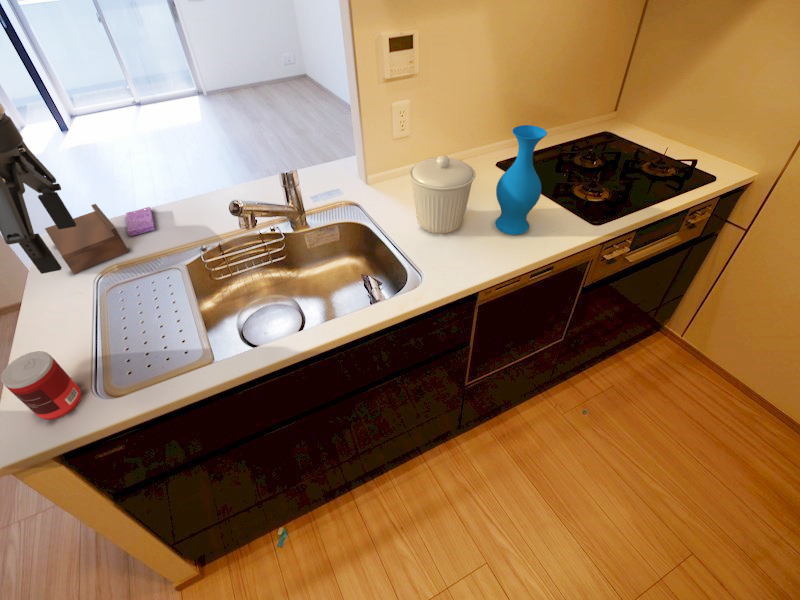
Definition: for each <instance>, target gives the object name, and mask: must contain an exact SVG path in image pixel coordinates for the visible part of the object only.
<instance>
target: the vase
mask: <svg viewBox="0 0 800 600" xmlns="http://www.w3.org/2000/svg"><path fill="white" fill-rule="evenodd" d="M511 132H512V134H513V135H514V136H515V138H516V141H517V143H518V151H517V154H516V155H517V156H516V158H515V160H514V162H513V163H512V165H511V166H510V167H509V168H508V169H507V170H505V172H504V173H503V174H502V175H501V176H500V178H499V179H498V181H497V184H496V190H495V193H496V194H495V195H496V200H497V202H498V205H499V208H500V212H501V213H500V215H499V217H497V219H495V222H494V226H495V228H496V229H497V230H498V231H500V232H501V233H502V234H506V235H510V236H519V235H523V234H526V233H527V231H529V229H530V224H529V222H528V220H527V219H528V218H527V217H528V215H529V213H530V212H531V210H532V209H533V208H534V207H535V206H536V205H537V204H538V202H539V200H540V197H541V195H542V182H541V180H540V179H541V178H540V177H539V175H538V174H537V171H536V169H535V167H534V161H533V157H534V152H535V149H536V146H537V145H538V143H539V142H540V141H542V139H544V138H545V137H547V135H548V132H547V130H546V129H544V128H542V127H540V126H537V125H531V124H529V125H528V124H524V125H518V126H515V127H513V128H512V129H511Z"/></svg>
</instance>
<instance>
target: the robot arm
mask: <svg viewBox="0 0 800 600" xmlns="http://www.w3.org/2000/svg"><path fill="white" fill-rule="evenodd" d="M5 111H6V109H5V108H4V106H3V104H2V102H1V101H0V233H1V236H2V238H3V240H4V242H5V244H6V245H14V244H18V245H19V247H20V248H21V249H22V250H23V251H24V253H25V254H26V255H27V257H28V258H29V260H30V261H31V262H32V263H33V265H34V267H36V269H37V270H38V271H39V273H40V275H43V274H47V273H48V274H49V273H53V272H59V271H62V266H61V264H60V263H59V261H58V260H57V258H56V257H55V256H54V254H53V252H52V251H51V250H50V248H49V247H48V245H47V244H46V242H45V241H44V240H43V238H42V237H41V235H40V233H35V232H34V231H35V230H34V228H33V225H32V222H31V217H30V215H29V212H28V208H27V204H26V201H25V198H24V193H26V188H25V186H28V187H29V188H31V189H32V190H34V191H35V192H37V193H38V196H37V198H38V200H39V201H40V203H41V205H42V206H43V207H44V209H45V211H46V212H47V214H48V215H49V217H50V218H51V220H52V222H53V223H54V225H56V226H57V227H58V229H65V228H70V227H76V223H75V221H74V220H73V219H74V218H73V216H72V215H71V213H70V211H69V210H68V208H67V207H66V205H65V203H64V202H63V200H62V198H61V196H60V194H59V193H58V192H57V191H62V187H61V185H60V183H59V182H58V183H57V178H56V177H55V176H54V175H53V173H51V171H50V170H49V169H48V168H47V167H46V166H45V165H44V164H43V163H42V162H41V161H40V159H38V158H37V156H35V154H34V152H32V150H30V149H29V147H28V146H27V145H26V142H24V138H23V136H22V135H21V132H20V131H19V129H18V127H17V126H16V125H15V123H14V121H13V120H12V118H11V117H10V116H9V115H7V114H5Z"/></svg>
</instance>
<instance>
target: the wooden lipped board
mask: <svg viewBox="0 0 800 600" xmlns="http://www.w3.org/2000/svg"><path fill="white" fill-rule="evenodd" d="M90 206H91V208H92V209H93V211H91V212H88V213H86V214H82V215H80V216H79V215H78V216H76V217H75V218H73V220H74V221H75V223H76V227H70V228H65V229H58V227H57V226H56V224H54V225H50V226H48V227H45V228H44V230H45V231H46V233H47V235H48V237H49V238H50V240H51V241H52V243H53V245H54V246H55V248H56V249H57V251H58V253H59V255H60V257H61V258H62V259H63V261H64V262H65V263H66V265H67V266H68V268H69V269H70V271H71V272H72V274H73V275H75V274H78V273H80V272H82V271H85V270H87V269H90V268H94V267H95V266H97V265H99V264H103V263H106V262H108V261H110V260H112V259H115V258H117V257H120V256H122V255H124V254H127V253H129V252H130V251H129V249H128V247H127V246H126V244H125V242H124V240H123V238H122V236H121V235H120V233H119V231H118V228H117V227H116V226H115V225H114V224H113V222H112V221H111V220H110V219H109V218H108V217H107V216H106V215H105V213H104V212H103V211H102V209H100V207H99V206H98V205H97V204H96V203H94V204H91V205H90Z"/></svg>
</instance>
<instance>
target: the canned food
mask: <svg viewBox="0 0 800 600" xmlns="http://www.w3.org/2000/svg"><path fill="white" fill-rule="evenodd" d="M0 381H1V383H2V384H3V386H4V387H5V388H7V389H8V390H9V392H11V393H12V394H13V395H14V396H15V397H16V398H17V399H18V400H19V401H21V402H22V403H23V404H24V405H25V406H26V407H27V408H28V409H29V410H30V411H32V412H33V413H34V414H35V415H36V416H37V417H39V418H40V419H43V420H47V421H51V420H57V419H60V418H63V417H64V416H66V415H68V414H70V413H71V412H72V411H74V409H75V408H76V407H77V406H78V405H79V403H80V402H81V400H82V392H81V391H82V390H81V388H80V387H79V385H78V384H77V383H76V382H75V381H74V379H72V378H71V376H69V373H67V372H66V371H65V370H64V369H63V367H62V366H61V365H60V364H59V363H58V362H57V360H56V359H55V358H54V357H52V355H51V354H50V353H48V352H46V351H40V350H38V351H31V352H28V353H25V354H23V355H21V356H19V357H17V358H15V359H14V360H12V361H11V362H10V363H9V364H8V365H7V366H6V367H5V368H4V369H3V371H2V373H1V375H0Z"/></svg>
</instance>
